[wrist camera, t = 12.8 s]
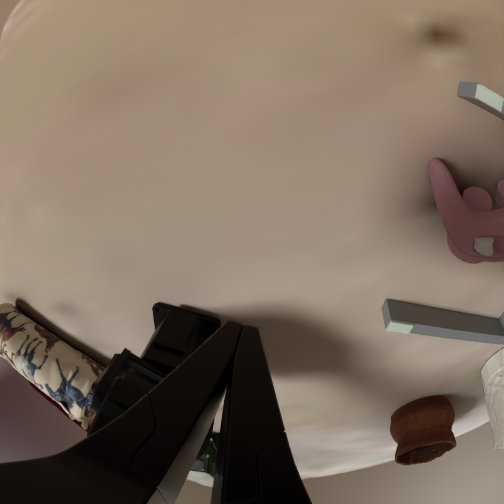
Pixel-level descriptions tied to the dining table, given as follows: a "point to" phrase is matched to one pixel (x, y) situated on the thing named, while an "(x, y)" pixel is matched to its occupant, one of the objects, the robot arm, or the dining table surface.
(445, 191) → the video game controller
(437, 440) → the ceramic pot
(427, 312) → the frame
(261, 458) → the robot arm
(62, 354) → the pencil case
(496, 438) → the white cup
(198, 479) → the miniature car
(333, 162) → the dining table surface
